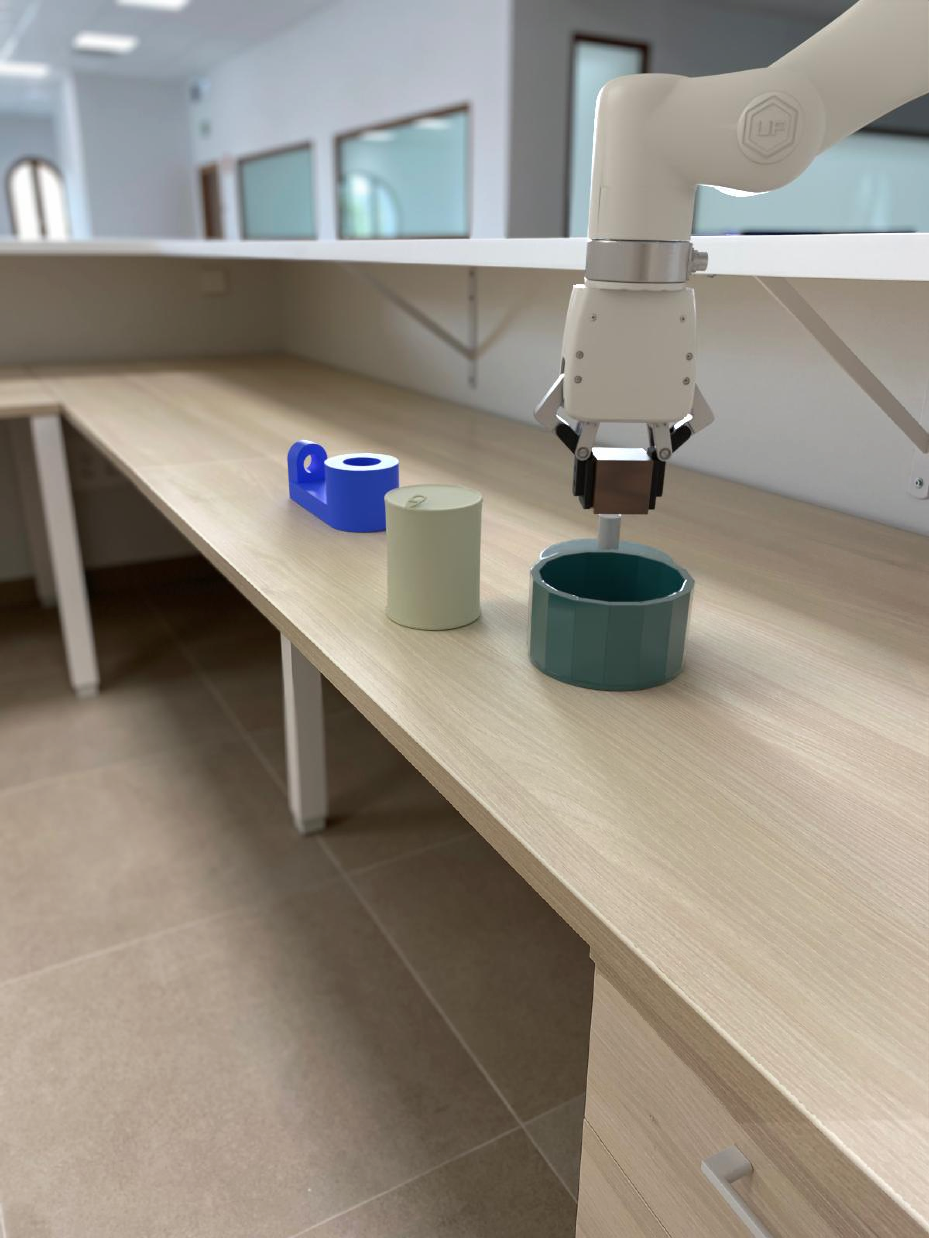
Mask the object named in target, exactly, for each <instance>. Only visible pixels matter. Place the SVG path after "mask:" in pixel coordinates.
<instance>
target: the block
mask: <svg viewBox="0 0 929 1238" xmlns="http://www.w3.org/2000/svg"><path fill="white" fill-rule="evenodd" d="M592 451H593V459H594V461H595V463H596V467H595V480H594V493H593V506H592V508H590V510H591V512H592V513H593V514H594V515H599V514H620V515H645V516H647V515H648V514H649V511H650V510H649V500H650V490H651V480H652V470H653V460H652V459H651V458H650V457H649V456H648V455H647V454H646V453H647V452H646V451H645V450H644V449H643V448H641V447H592Z"/></svg>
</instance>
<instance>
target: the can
mask: <svg viewBox="0 0 929 1238" xmlns="http://www.w3.org/2000/svg"><path fill="white" fill-rule="evenodd" d="M384 500H385V510H386V530H385V533H386V537H385V538H386V577H387V580H386V581H387V583H386V584H387V585H386V586H387V588H386V589H387V590H386V591H387V594H386V596H387V598H386V609H385V613H386V615H387V617H388V618H389V619H390V620H391V621H393V622H394V623H396V624H398V625H400V626H402V627H406V628H409V629H410V628H411V629H416V630H423V631H424V630H425V631H443V630H451V629H457V628H461V627H464V626H467V625H469V624H471V623H473V622H475V621H476V620H478V619H479V617H480V616H481V613H482V607H481V544H482V514H483V513H482V512H483V501H484V497H483V495H482V493H481V492H480V491H477V490H475V489H472V488H471V487H466V486H462V485H456V484H447V483H446V484H445V483H420V484H411V485H405V486H404V485H403V486H401V487H400V486H399V488H396V489H393V490H391V491H389V492H388V493H387V494H386V495H385V497H384Z"/></svg>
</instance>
